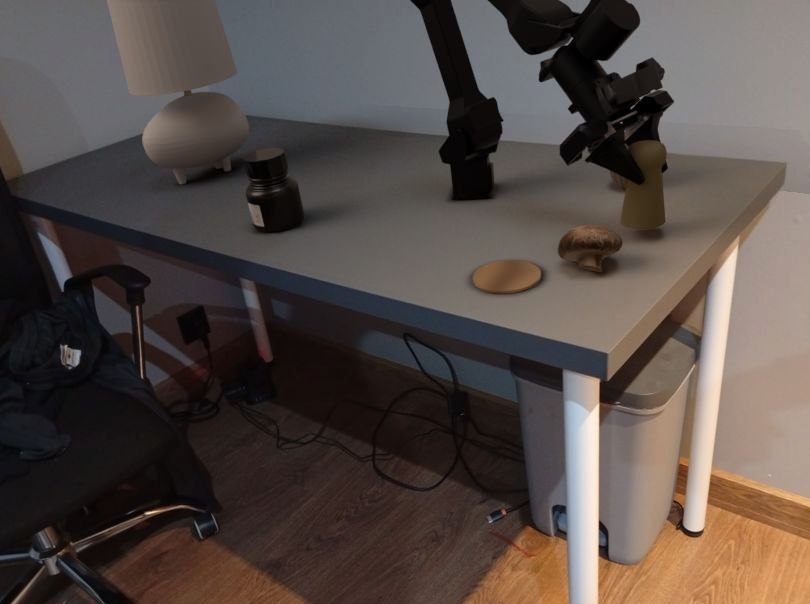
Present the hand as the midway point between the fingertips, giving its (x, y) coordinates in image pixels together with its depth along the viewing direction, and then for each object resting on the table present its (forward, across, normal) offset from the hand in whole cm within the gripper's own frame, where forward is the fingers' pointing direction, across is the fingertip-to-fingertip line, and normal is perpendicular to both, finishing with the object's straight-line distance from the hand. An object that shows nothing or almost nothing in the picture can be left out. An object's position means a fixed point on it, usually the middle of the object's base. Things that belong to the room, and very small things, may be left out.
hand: (654, 177), depth 98 cm
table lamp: (-60, -20, +74) cm, 97 cm away
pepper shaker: (+4, 0, +6) cm, 7 cm away
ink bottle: (-32, -27, +45) cm, 62 cm away
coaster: (0, -21, +12) cm, 24 cm away
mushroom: (+5, -12, +7) cm, 15 cm away
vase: (-3, +15, +16) cm, 22 cm away
